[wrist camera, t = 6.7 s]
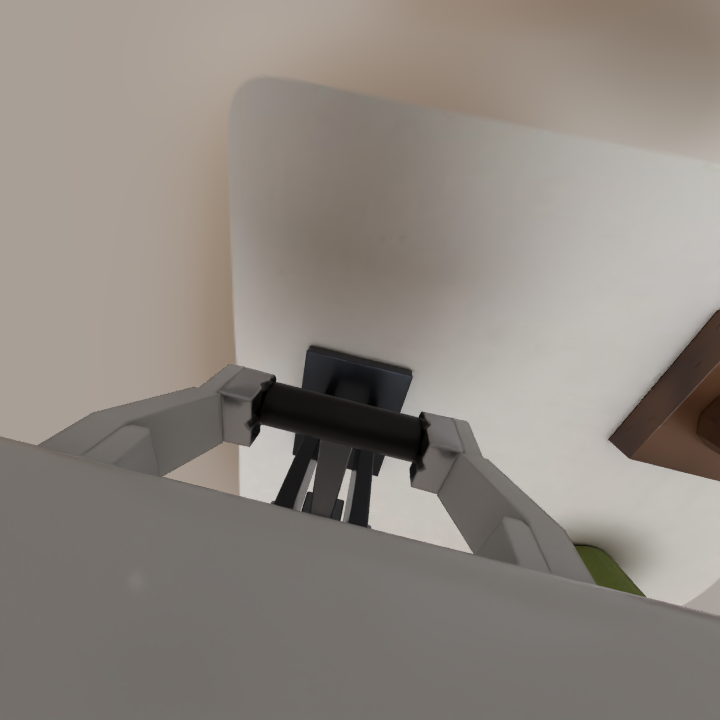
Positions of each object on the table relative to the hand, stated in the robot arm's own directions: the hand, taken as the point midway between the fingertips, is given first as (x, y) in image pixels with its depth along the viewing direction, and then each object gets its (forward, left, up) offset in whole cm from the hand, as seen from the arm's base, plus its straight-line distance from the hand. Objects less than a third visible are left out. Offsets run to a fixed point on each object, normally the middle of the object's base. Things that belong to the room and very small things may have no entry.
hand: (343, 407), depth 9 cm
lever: (+5, 0, -2) cm, 5 cm away
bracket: (+10, 0, -13) cm, 16 cm away
